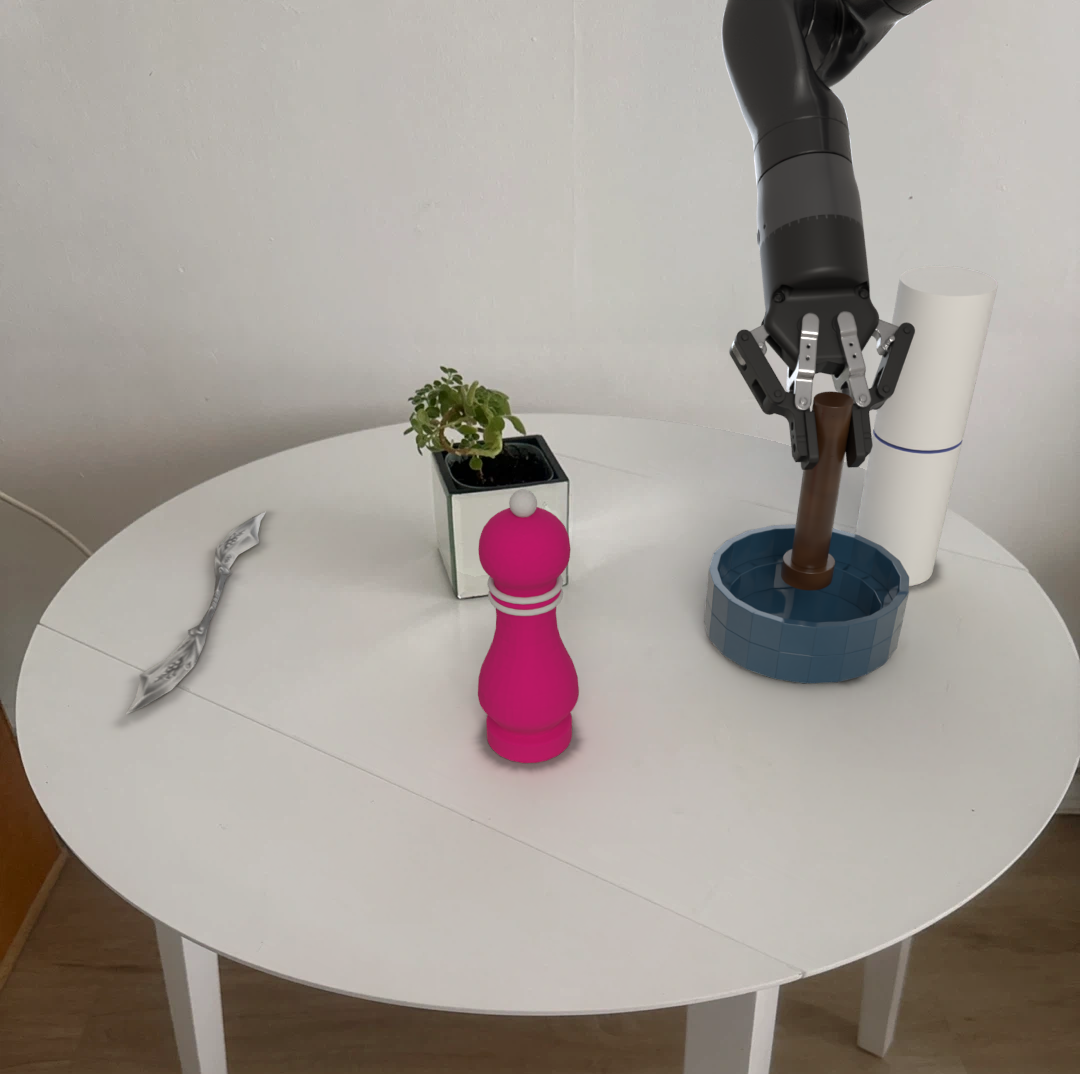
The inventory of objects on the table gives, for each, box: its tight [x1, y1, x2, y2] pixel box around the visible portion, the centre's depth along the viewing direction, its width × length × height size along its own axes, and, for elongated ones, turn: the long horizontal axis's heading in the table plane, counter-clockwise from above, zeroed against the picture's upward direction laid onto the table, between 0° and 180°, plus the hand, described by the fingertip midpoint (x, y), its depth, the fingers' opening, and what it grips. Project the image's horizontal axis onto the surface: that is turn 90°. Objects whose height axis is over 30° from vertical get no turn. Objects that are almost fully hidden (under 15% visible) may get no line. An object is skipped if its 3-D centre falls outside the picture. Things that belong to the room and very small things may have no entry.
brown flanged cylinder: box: [781, 391, 854, 590], centre depth 87 cm, size 4×4×15 cm
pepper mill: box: [477, 488, 580, 764], centre depth 79 cm, size 7×7×20 cm
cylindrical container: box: [854, 265, 999, 587], centre depth 96 cm, size 7×7×25 cm
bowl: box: [703, 523, 910, 685], centre depth 93 cm, size 15×15×6 cm
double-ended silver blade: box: [125, 510, 267, 715], centre depth 100 cm, size 32×1×5 cm
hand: (833, 464), depth 83 cm, fingers closed on brown flanged cylinder, 3 cm apart
